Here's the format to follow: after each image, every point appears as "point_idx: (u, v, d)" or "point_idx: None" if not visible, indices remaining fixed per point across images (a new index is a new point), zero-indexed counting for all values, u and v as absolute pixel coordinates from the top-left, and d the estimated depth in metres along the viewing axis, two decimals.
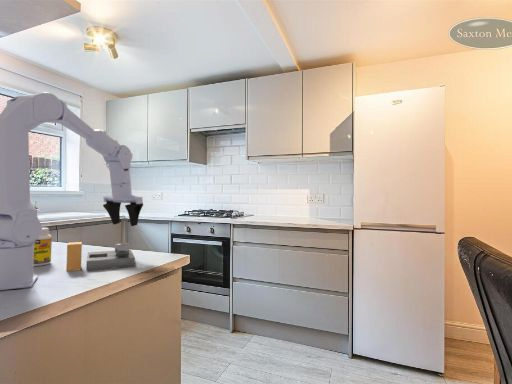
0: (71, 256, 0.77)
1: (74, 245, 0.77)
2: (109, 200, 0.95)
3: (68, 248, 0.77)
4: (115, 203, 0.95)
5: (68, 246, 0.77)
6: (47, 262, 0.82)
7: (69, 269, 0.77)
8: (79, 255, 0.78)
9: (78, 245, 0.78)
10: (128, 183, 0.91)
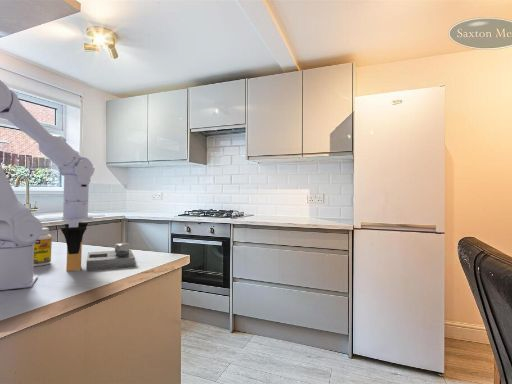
0: (71, 256, 0.77)
1: None
2: None
3: None
4: (78, 224, 0.82)
5: None
6: (47, 262, 0.82)
7: (69, 269, 0.77)
8: (79, 255, 0.78)
9: None
10: (76, 201, 0.76)
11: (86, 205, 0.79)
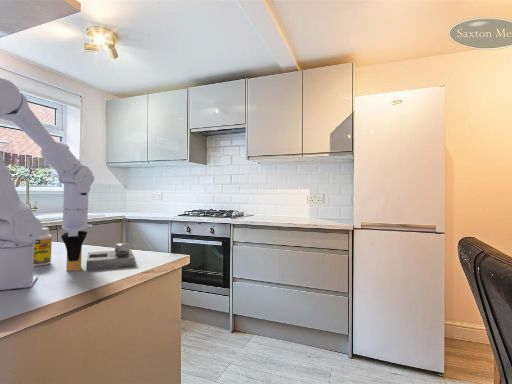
0: None
1: None
2: None
3: None
4: None
5: None
6: (47, 262, 0.82)
7: (69, 269, 0.77)
8: None
9: None
10: (76, 210, 0.76)
11: (86, 213, 0.79)
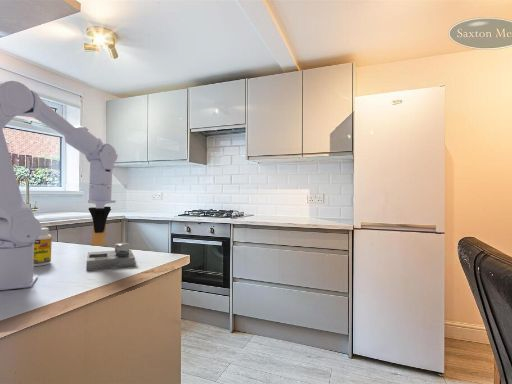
0: None
1: None
2: None
3: None
4: None
5: None
6: (47, 262, 0.82)
7: (94, 244, 0.82)
8: (104, 231, 0.83)
9: None
10: (102, 185, 0.82)
11: (110, 189, 0.84)
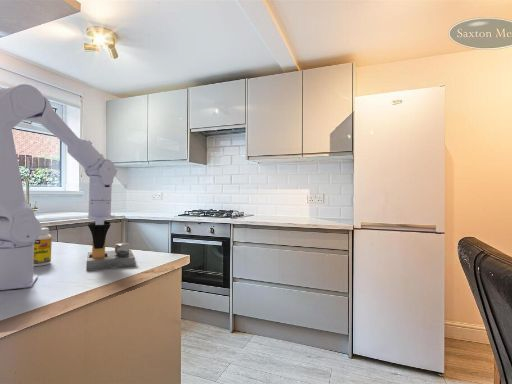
0: None
1: None
2: None
3: None
4: None
5: None
6: (47, 262, 0.82)
7: None
8: (103, 247, 0.83)
9: None
10: (101, 201, 0.82)
11: (109, 204, 0.84)
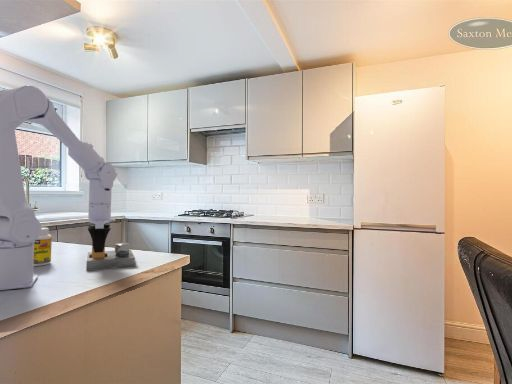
0: None
1: None
2: None
3: None
4: None
5: None
6: (47, 262, 0.82)
7: None
8: (103, 251, 0.83)
9: None
10: (101, 204, 0.82)
11: (109, 208, 0.84)
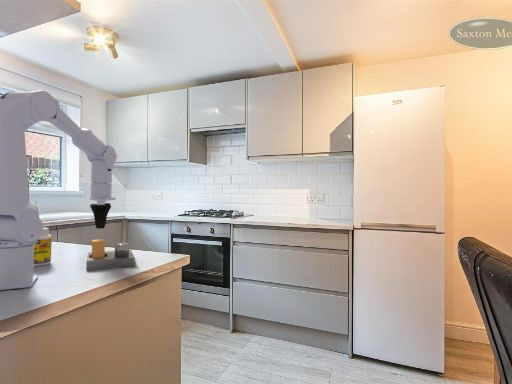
0: (95, 252, 0.82)
1: (98, 242, 0.83)
2: None
3: (93, 245, 0.82)
4: None
5: (93, 243, 0.82)
6: (47, 262, 0.82)
7: None
8: (103, 251, 0.83)
9: (102, 242, 0.83)
10: (102, 183, 0.88)
11: (110, 187, 0.90)
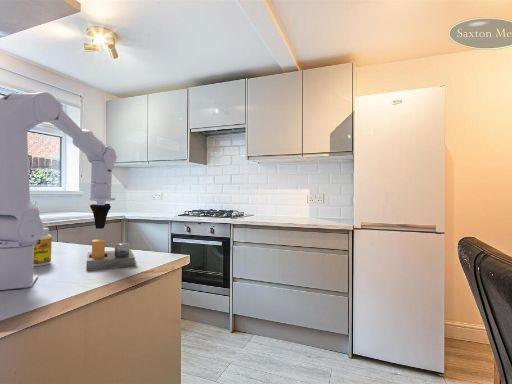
0: (95, 252, 0.82)
1: (98, 242, 0.83)
2: None
3: (93, 245, 0.82)
4: None
5: (93, 243, 0.82)
6: (47, 262, 0.82)
7: None
8: (103, 251, 0.83)
9: (102, 242, 0.83)
10: (102, 184, 0.89)
11: (110, 187, 0.91)
